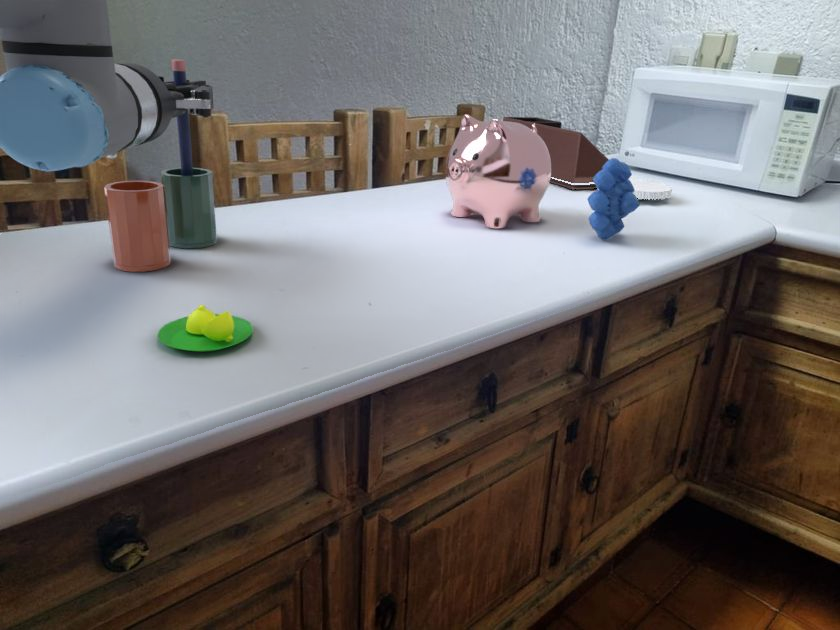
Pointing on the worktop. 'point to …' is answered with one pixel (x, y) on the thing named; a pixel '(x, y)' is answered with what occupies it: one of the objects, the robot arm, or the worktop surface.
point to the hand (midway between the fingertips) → (195, 91)
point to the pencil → (183, 123)
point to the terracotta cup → (138, 225)
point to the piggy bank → (497, 171)
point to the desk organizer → (567, 152)
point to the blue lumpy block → (611, 198)
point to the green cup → (190, 208)
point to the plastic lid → (650, 189)
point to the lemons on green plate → (205, 331)
